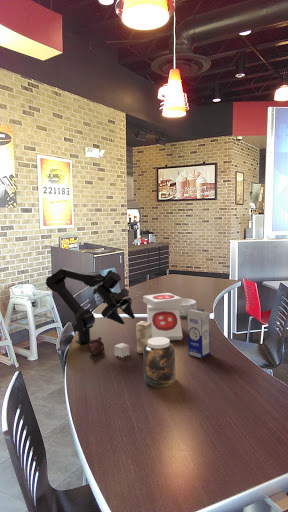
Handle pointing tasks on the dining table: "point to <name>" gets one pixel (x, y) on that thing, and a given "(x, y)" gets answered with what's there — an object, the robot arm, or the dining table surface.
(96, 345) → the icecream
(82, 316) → the robot arm
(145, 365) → the jar
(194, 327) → the milk carton
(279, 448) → the dining table surface
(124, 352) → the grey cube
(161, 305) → the pizza boxes
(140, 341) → the birch block
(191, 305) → the paper bowls
